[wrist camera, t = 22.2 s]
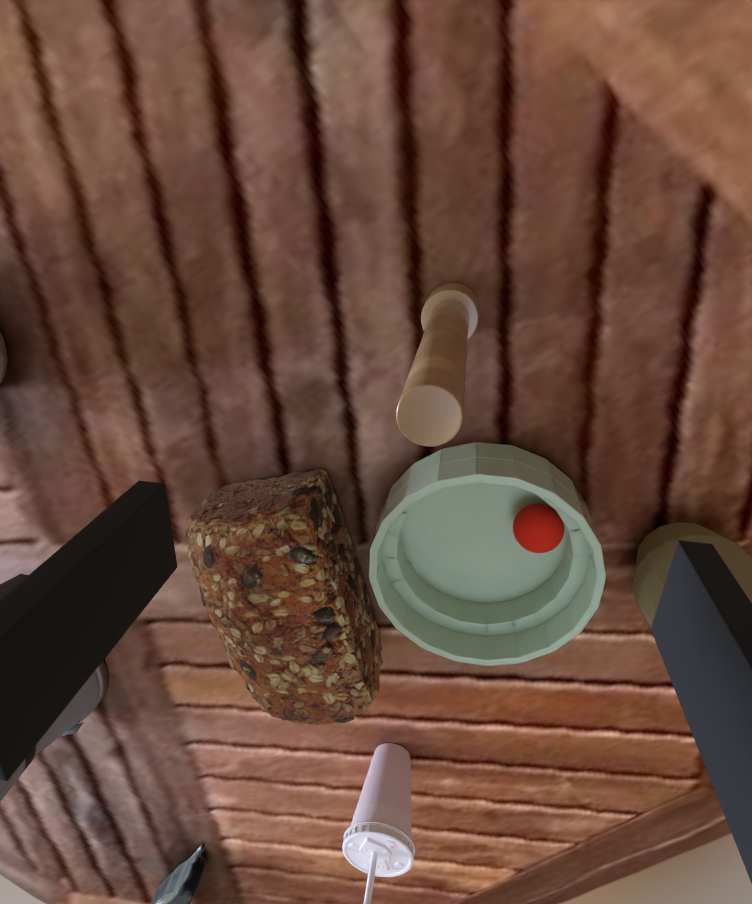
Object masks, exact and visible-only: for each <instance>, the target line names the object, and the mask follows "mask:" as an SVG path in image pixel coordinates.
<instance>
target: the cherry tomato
mask: <svg viewBox="0 0 752 904" xmlns="http://www.w3.org/2000/svg"><path fill="white" fill-rule="evenodd" d="M513 533H514V536H515V538H516V540H517V542H518V543H519V544H520V545H521V546H522V547H523V548H524V549H526V550H528V551H530V552H533V553H546V552H549V551H551V550H553V549H554V548H556V547H557V546H558V545H559V543H560V542H561V540H562V538H563V535H564V523H563V521H562V520H561V518H560V516H559V515H558V513H557V511H556V510H555V509H553V508H552V507H550V506H548V505H545V504H540V503H535V504H530V505H527V506H525V507H524V508H522V509H521V510H520V511H519V512H518V513H517V515H516V516H515V519H514V522H513Z"/></svg>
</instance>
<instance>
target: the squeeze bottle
mask: <svg viewBox="0 0 752 904" xmlns="http://www.w3.org/2000/svg"><path fill="white" fill-rule="evenodd" d="M678 540H681V541H690V542H699V543H708V544H713V546H714V547H715V549H716V550H717V552H718V553H719V555H720V556H721V558H722V559H723V561H724V562H725V564H726V565H727V567H728V568H729V570H730V571H731V573H732V574H733V576H734V577H735V579H736V580H737V582H738V583H739V585H740V586H741V588H742V589H743V591H744V592H745V594H746V595H747V597H748V598H749V600H750V601H751V603H752V558H751V557H750V556H749V555H748V554H747V553H746V552H745V551H744V550H743V549H742V548H741V547H740V546H739V545H738V544H736V543H735V542H733V541H731V540H729V539H727V538H725V537H723V536H721V535H719V534H717V533H715V532H714V531H712V530H710V529H708V528H705V527H703V526H700V525H698V524H695V523H692V522H674V523H670V524H667V525H663V526H660V527H658V528H657V529H655V530H654V531H652V532H651V533H649V534H648V535H646V537H645V538H644V539H643V541H642V542H641V544H640V545H639V547H638V552H637V558H636V565H635V572H634V579H633V586H632V590H633V593H634V596H635V598H636V601H637V604H638V606H639V608H640V610H641V611H642V613H643V615H644V617H645V618H646V620H647V622H648V624H649V626H650V627H651V626H652V623H653V620H654V617H655V613H656V610H657V607H658V604H659V601H660V597H661V594H662V591H663V588H664V584H665V581H666V578H667V575H668V572H669V568H670V565H671V562H672V559H673V555H674V552H675V549H676V546H677V543H678Z"/></svg>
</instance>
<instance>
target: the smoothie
mask: <svg viewBox="0 0 752 904" xmlns="http://www.w3.org/2000/svg"><path fill="white" fill-rule="evenodd" d="M342 850H343V854H344V856H345V858H346V859H347V860H348V862H350V863H351V864H352V865H353V866H354V867H356V868H357V869H359V870H361V871H363V872H365V873H368V879H367V885H366V892H365V898H364V904H371V898H372V891H373V884H374V877H375V876H380V877H394V876H399V875H402V874H404V873H406V872H407V871H408V870H409V869H410V868H411V867H412V865H413V858H414V855H415V847H414V844H413V842H412V840H411V778H410V755H409V753H408V751H407V750H406V749H405V748H403V747H402V746H400V745H397V744H393V743H384V744H381V745H379V746H378V747H377V748H376V749H375V752H374V755H373V758H372V761H371V764H370V767H369V770H368V774H367V777H366V780H365V783H364V786H363V789H362V792H361V795H360V798H359V801H358V804H357V807H356V811H355V813H354V816H353V820H352V823H351V826H350V827H349V828H348V829H347V830H346V832H345V834H344V841H343V846H342Z"/></svg>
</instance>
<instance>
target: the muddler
mask: <svg viewBox="0 0 752 904" xmlns="http://www.w3.org/2000/svg"><path fill="white" fill-rule="evenodd" d="M478 320H479V308H478V302H477V299H476V297H475V295H474V293H473V292H472V291H471V290H470V289H469V288H468V287H466V286H464V285H462V284H459V283H445V284H442V285H440V286H438V287H437V288H435V289H434V290H433V291H432V292H431V293H430V295H429V296H428V298H427V300H426V303H425V305H424V307H423V310H422V314H421V324H422V328H423V330H424V335H423V337H422V340H421V343H420V345H419V348H418V351H417V354H416V356H415V359H414V362H413V365H412V367H411V370H410V373H409V375H408V378H407V381H406V384H405V386H404V389H403V392H402V394H401V397H400V400H399V403H398V405H397V409H396V419H397V423H398V426H399V428H400V430H401V432H402V433H403V434H404V435H405V436H406V437H407V438H408V439H409V440H410V441H412V442H414V443H416V444H418V445H422V446H430V447H431V446H438V445H442V444H444V443H446V442H448V441H450V440H451V439H452V438H454V437H455V435H456V434H457V433H458V431H459V430H460V428H461V425H462V421H463V409H464V392H465V375H466V359H467V342H468V340H469V339H470V338H471V337H472V335H473V334H474V332H475V331H476V328H477V325H478Z"/></svg>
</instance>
